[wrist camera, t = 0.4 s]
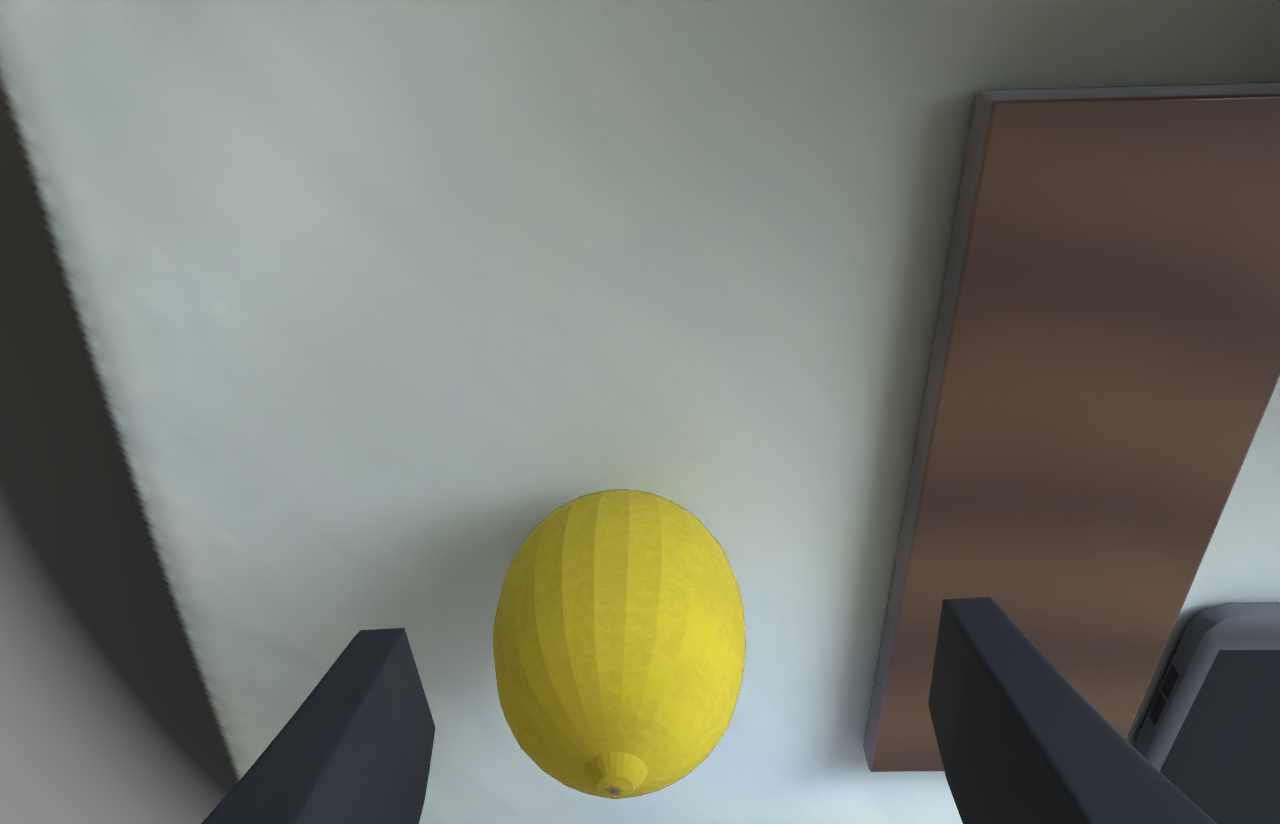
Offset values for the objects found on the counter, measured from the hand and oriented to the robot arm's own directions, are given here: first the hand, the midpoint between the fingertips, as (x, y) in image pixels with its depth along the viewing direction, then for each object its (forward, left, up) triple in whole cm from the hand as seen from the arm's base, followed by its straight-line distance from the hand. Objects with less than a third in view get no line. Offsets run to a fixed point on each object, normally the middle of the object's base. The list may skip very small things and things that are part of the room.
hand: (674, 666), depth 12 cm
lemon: (-5, +1, -10) cm, 11 cm away
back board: (-5, -10, -10) cm, 15 cm away
